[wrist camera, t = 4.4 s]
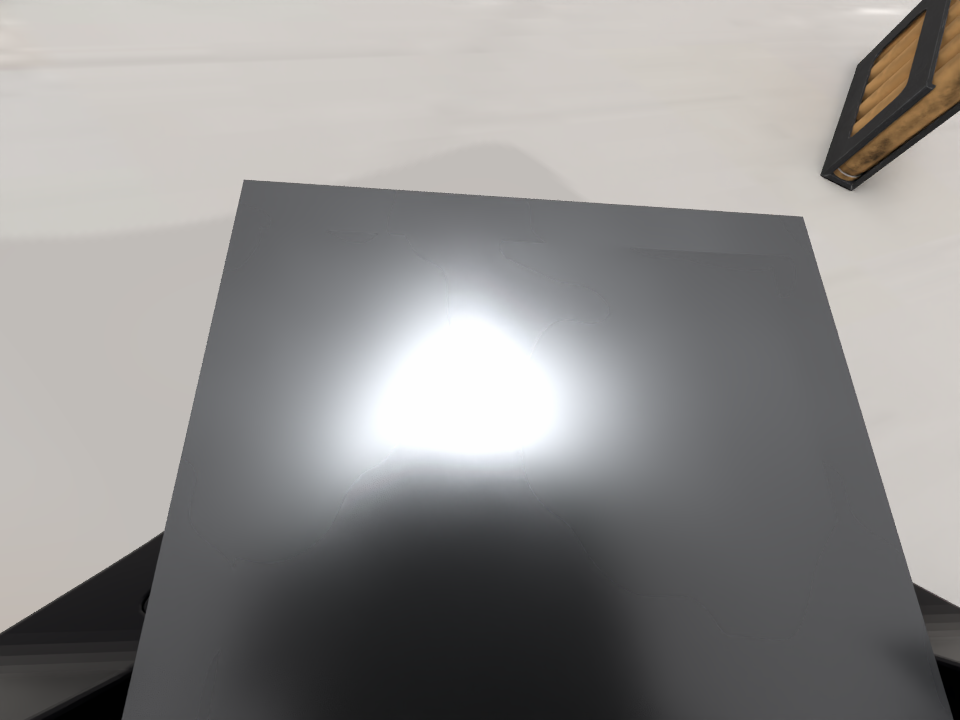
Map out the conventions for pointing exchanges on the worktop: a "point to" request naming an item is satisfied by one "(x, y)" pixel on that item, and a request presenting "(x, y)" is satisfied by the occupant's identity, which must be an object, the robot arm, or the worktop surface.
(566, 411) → the grey metal square prism
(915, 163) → the worktop surface
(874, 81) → the ammunition clip
